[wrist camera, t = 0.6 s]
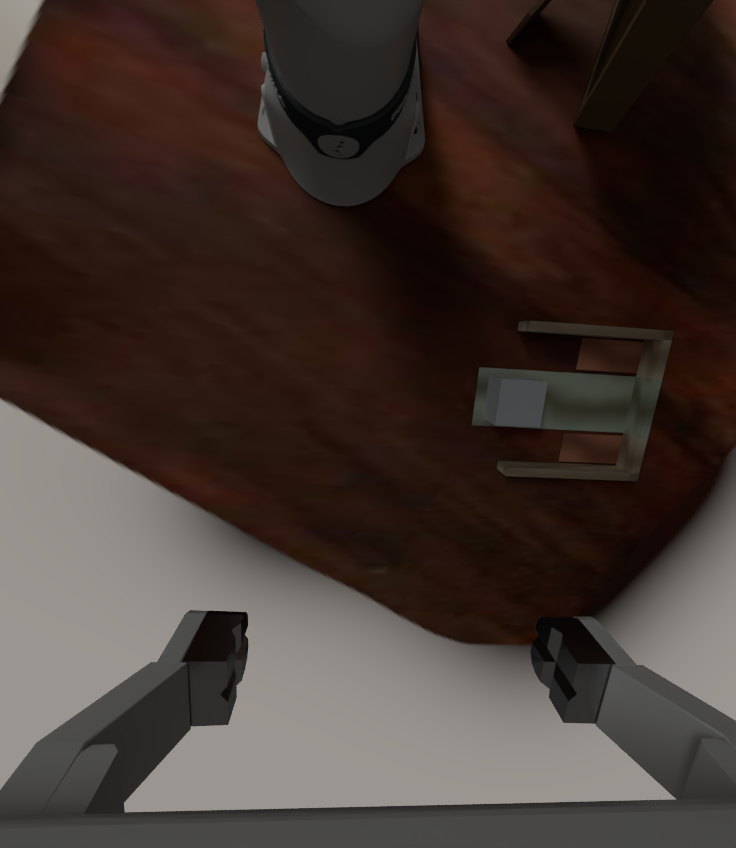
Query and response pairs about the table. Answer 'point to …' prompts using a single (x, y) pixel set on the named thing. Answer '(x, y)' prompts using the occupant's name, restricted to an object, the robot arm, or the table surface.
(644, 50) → the photo frame
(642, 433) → the grey-green e-shaped frame
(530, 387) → the block
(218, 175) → the table surface
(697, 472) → the table surface
